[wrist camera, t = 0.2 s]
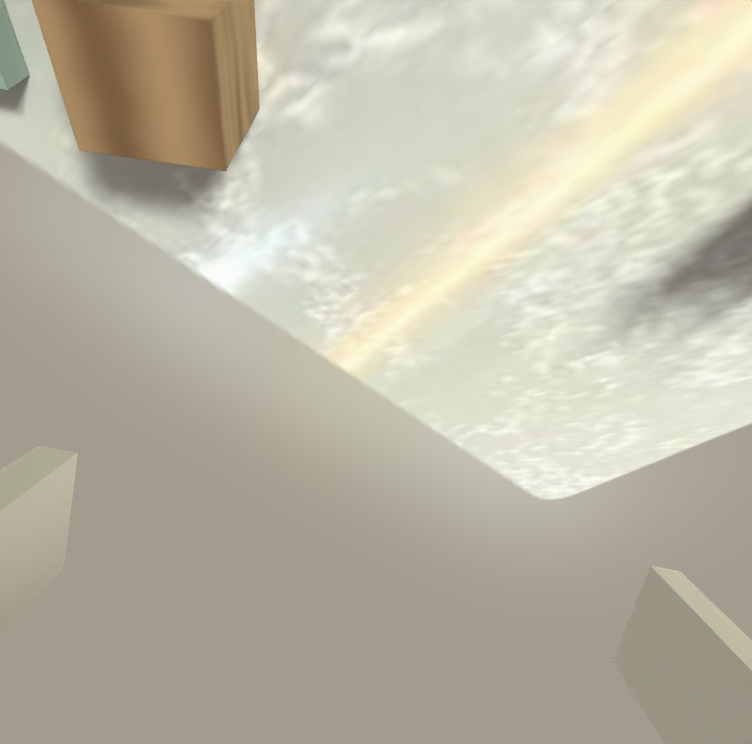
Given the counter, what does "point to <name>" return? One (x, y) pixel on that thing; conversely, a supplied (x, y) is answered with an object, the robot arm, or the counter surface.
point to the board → (10, 53)
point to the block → (155, 76)
